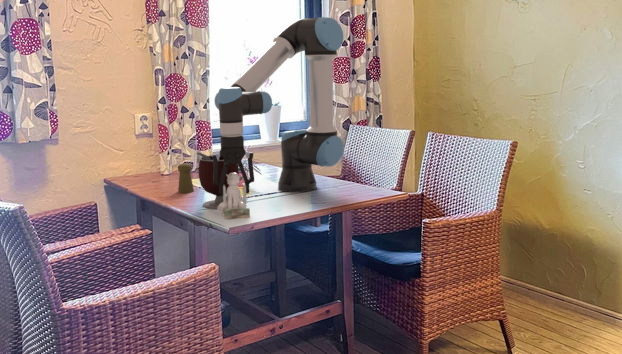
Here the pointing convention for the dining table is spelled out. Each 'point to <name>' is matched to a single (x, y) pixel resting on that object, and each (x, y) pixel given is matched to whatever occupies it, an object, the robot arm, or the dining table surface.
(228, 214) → the green brown flat box
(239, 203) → the seated beast figurine
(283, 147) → the robot arm
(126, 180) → the dining table surface
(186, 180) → the cork
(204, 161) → the mate gourd
